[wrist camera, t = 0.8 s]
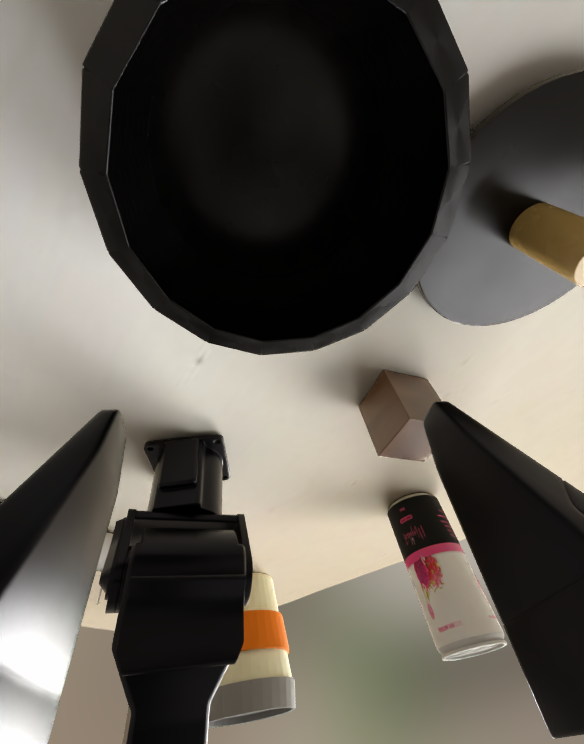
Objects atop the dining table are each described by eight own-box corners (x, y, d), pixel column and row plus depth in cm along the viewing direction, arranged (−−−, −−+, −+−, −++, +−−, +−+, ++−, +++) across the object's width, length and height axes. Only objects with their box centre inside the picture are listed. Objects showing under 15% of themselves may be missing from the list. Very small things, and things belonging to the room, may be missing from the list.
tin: (370, 279, 22) (416, 343, 16) (167, 290, 20) (146, 365, 15) (422, -19, 13) (546, -80, 8) (85, -35, 12) (-25, -121, 7)
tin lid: (560, 311, 26) (633, 362, 21) (388, 323, 24) (426, 381, 20) (704, 71, 17) (885, 69, 12) (447, 67, 15) (543, 63, 11)
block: (427, 378, 29) (458, 426, 25) (399, 413, 31) (424, 461, 27) (383, 369, 27) (409, 418, 23) (358, 406, 30) (378, 456, 26)
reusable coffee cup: (224, 564, 48) (223, 714, 36) (298, 570, 53) (317, 702, 42) (190, 596, 54) (180, 733, 43) (259, 598, 59) (266, 720, 48)
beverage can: (384, 499, 42) (442, 655, 30) (436, 485, 41) (514, 638, 30) (388, 521, 46) (439, 664, 35) (435, 509, 46) (503, 649, 34)
